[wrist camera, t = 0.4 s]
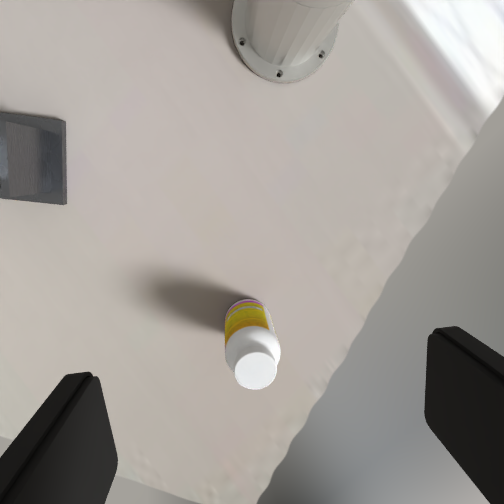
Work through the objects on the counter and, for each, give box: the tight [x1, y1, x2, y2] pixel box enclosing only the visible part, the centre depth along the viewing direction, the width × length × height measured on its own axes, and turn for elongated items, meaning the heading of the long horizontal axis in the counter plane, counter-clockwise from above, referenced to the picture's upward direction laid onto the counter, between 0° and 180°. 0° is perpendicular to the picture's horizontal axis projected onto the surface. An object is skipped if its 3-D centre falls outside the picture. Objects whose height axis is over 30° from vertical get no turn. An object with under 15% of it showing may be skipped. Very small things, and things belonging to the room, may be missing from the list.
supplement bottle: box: [225, 299, 280, 390], centre depth 42 cm, size 7×7×13 cm
